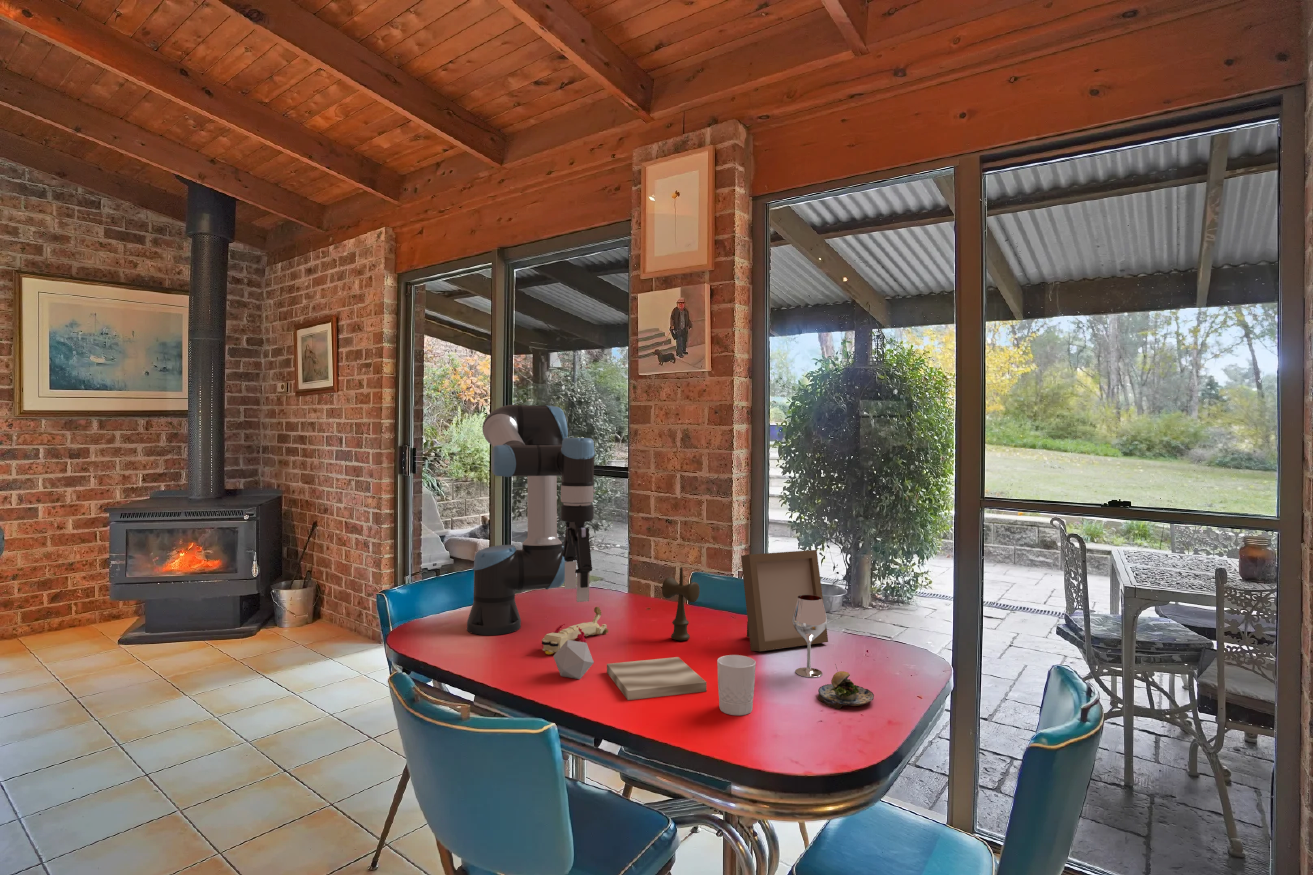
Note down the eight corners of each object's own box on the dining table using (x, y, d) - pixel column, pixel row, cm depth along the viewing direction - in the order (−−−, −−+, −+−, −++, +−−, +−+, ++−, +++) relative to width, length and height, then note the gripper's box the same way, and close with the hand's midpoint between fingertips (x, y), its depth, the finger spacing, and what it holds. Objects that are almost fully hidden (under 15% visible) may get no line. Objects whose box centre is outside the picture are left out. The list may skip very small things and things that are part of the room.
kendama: (673, 633, 197) (674, 563, 197) (700, 640, 191) (701, 567, 191) (659, 638, 192) (660, 566, 192) (687, 645, 186) (688, 570, 186)
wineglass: (806, 681, 160) (807, 603, 160) (784, 670, 167) (785, 595, 167) (833, 675, 164) (834, 599, 164) (810, 665, 171) (811, 592, 171)
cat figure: (584, 634, 199) (529, 651, 177) (586, 603, 200) (532, 616, 178) (614, 640, 195) (561, 657, 173) (615, 608, 195) (564, 621, 173)
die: (599, 675, 164) (587, 637, 168) (593, 668, 156) (580, 628, 161) (566, 689, 163) (554, 650, 167) (559, 682, 155) (547, 642, 160)
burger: (841, 715, 141) (841, 678, 141) (806, 695, 152) (806, 661, 152) (887, 706, 146) (887, 671, 146) (850, 687, 157) (850, 654, 157)
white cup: (713, 702, 147) (714, 655, 147) (750, 701, 147) (751, 654, 147) (720, 717, 139) (720, 667, 139) (759, 716, 139) (759, 666, 139)
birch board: (606, 672, 164) (606, 663, 164) (678, 665, 170) (678, 656, 170) (627, 700, 147) (627, 690, 147) (706, 691, 153) (706, 682, 153)
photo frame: (828, 645, 187) (829, 553, 187) (759, 655, 179) (760, 558, 178) (795, 630, 201) (796, 544, 201) (730, 639, 192) (731, 548, 192)
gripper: (606, 508, 151) (605, 606, 151) (581, 498, 175) (580, 582, 175) (572, 509, 149) (571, 608, 149) (551, 499, 172) (550, 584, 172)
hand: (576, 594), depth 162 cm, fingers open, 13 cm apart
